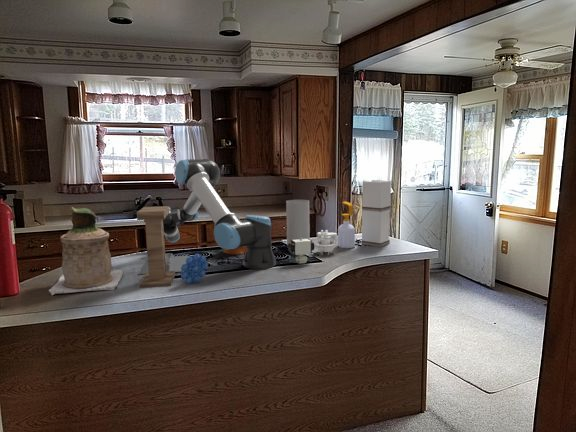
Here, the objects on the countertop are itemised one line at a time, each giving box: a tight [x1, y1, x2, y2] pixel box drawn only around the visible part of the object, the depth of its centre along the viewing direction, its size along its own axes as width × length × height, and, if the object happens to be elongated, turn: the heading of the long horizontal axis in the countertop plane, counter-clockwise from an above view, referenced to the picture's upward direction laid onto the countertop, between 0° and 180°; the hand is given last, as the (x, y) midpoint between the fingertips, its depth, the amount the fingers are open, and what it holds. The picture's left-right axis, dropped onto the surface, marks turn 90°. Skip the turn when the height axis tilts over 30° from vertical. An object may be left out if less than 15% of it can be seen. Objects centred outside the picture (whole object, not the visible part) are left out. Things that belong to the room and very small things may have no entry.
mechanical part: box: [314, 229, 338, 256], centre depth 214 cm, size 11×12×12 cm
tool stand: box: [136, 205, 176, 288], centre depth 172 cm, size 16×12×30 cm
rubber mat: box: [137, 255, 191, 276], centre depth 198 cm, size 28×20×1 cm
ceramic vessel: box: [222, 246, 246, 256], centre depth 223 cm, size 14×26×15 cm, turn 153°
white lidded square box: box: [361, 179, 392, 248], centre depth 232 cm, size 11×11×35 cm
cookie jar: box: [48, 207, 123, 296], centre depth 170 cm, size 25×25×32 cm
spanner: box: [165, 252, 174, 271], centre depth 198 cm, size 22×6×2 cm, turn 9°
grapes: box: [180, 253, 209, 284], centre depth 171 cm, size 12×7×12 cm, turn 124°
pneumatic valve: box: [287, 238, 316, 265], centre depth 197 cm, size 6×12×12 cm, turn 109°
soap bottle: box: [337, 200, 356, 249], centre depth 227 cm, size 9×9×25 cm
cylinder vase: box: [285, 199, 311, 247], centre depth 230 cm, size 12×12×25 cm
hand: (163, 212), depth 197 cm, fingers open, 13 cm apart
